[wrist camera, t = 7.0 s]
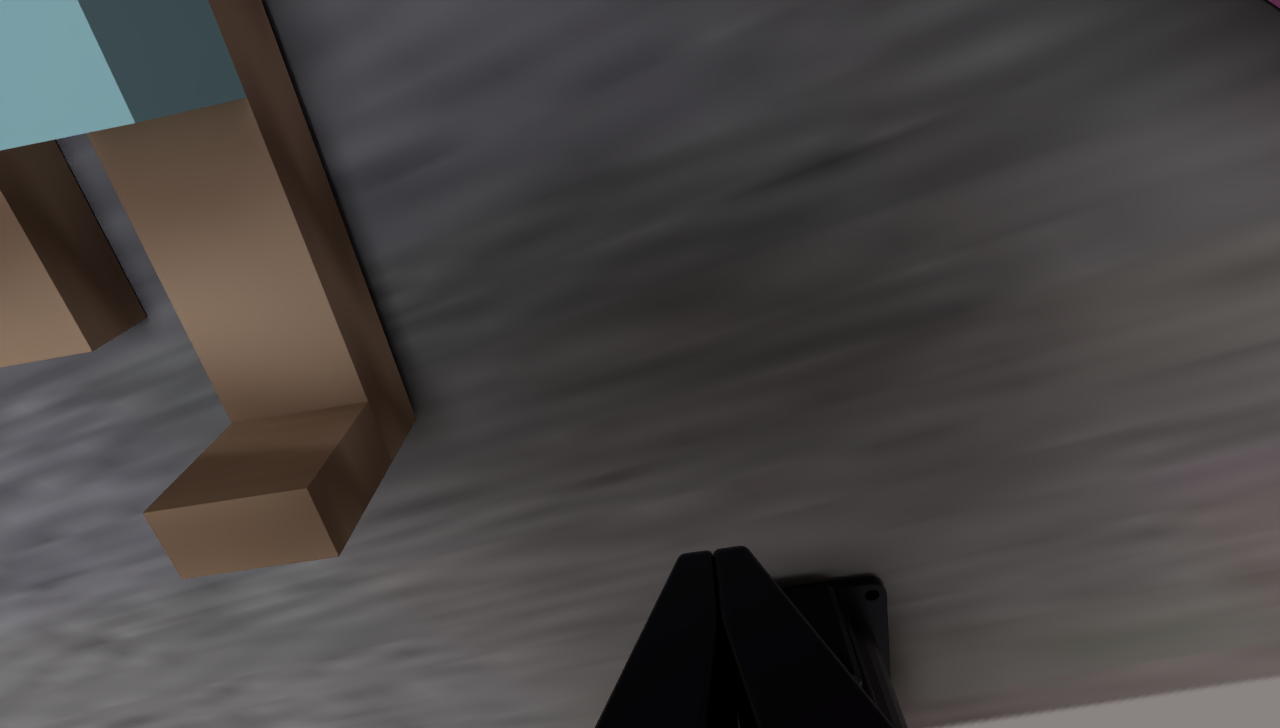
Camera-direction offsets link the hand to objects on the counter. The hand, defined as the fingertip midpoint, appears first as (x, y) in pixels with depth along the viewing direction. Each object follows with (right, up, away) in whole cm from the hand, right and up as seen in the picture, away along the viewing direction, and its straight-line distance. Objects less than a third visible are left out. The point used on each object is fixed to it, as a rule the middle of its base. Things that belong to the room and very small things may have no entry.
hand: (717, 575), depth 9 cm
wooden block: (-11, +8, +11) cm, 18 cm away
